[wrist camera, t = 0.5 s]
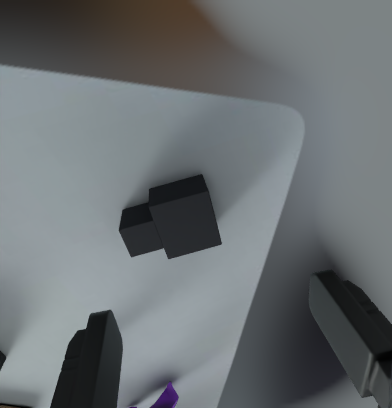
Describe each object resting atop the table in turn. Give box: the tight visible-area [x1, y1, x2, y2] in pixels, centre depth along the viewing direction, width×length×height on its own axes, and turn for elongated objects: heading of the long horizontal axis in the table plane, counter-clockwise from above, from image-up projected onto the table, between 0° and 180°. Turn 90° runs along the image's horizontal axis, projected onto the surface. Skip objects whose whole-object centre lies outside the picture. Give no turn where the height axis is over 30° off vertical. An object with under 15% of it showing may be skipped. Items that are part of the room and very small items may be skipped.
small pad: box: [119, 175, 222, 259], centre depth 27 cm, size 6×8×4 cm
